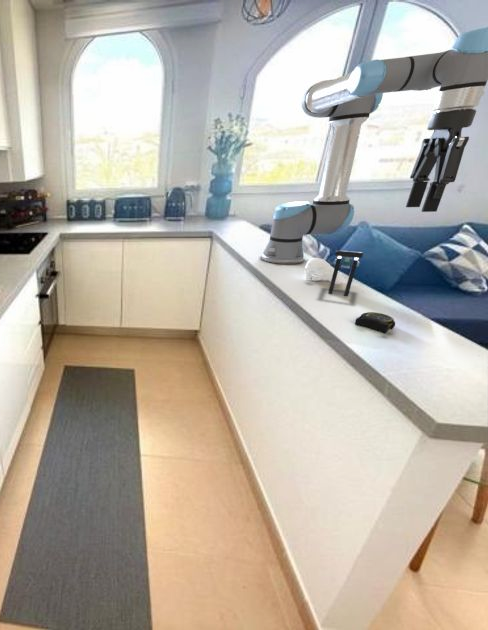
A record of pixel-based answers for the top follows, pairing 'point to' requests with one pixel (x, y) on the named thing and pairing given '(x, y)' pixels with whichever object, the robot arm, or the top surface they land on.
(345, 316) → the top surface
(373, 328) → the tape measure
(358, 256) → the lever
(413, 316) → the top surface
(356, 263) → the bracket
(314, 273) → the white lumpy piece
